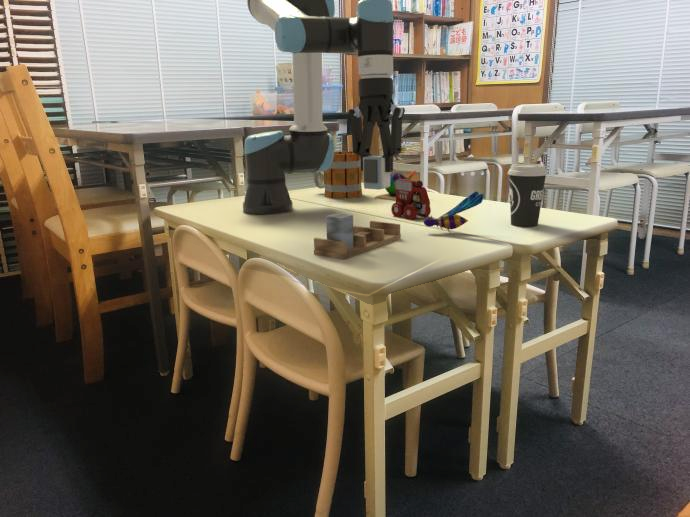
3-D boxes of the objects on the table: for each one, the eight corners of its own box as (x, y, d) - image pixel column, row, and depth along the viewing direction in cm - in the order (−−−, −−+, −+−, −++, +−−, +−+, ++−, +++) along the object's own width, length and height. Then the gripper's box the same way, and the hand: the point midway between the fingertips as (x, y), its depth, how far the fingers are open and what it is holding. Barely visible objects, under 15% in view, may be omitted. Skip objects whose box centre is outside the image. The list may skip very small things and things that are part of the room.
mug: (370, 195, 192) (369, 151, 188) (347, 200, 182) (346, 155, 178) (326, 191, 204) (324, 150, 200) (302, 196, 193) (300, 153, 189)
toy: (421, 231, 135) (422, 190, 132) (476, 228, 136) (477, 188, 133) (428, 237, 128) (429, 195, 125) (485, 235, 129) (487, 193, 126)
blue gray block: (388, 187, 124) (388, 156, 122) (377, 189, 121) (377, 157, 119) (374, 186, 126) (373, 155, 125) (362, 188, 123) (362, 157, 121)
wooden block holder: (313, 254, 116) (312, 216, 114) (372, 234, 133) (371, 201, 131) (344, 259, 111) (343, 220, 109) (400, 238, 128) (400, 204, 126)
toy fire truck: (418, 222, 146) (418, 183, 143) (387, 215, 156) (387, 178, 153) (436, 218, 150) (437, 180, 147) (405, 212, 160) (405, 176, 157)
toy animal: (387, 194, 194) (387, 167, 191) (422, 198, 184) (422, 169, 181) (366, 198, 186) (366, 170, 183) (402, 202, 176) (402, 173, 173)
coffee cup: (524, 230, 133) (528, 168, 129) (496, 223, 141) (499, 165, 137) (552, 226, 137) (557, 165, 133) (524, 219, 145) (527, 162, 141)
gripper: (333, 79, 120) (337, 186, 126) (400, 74, 110) (400, 190, 116) (353, 80, 126) (356, 182, 132) (419, 75, 116) (418, 186, 122)
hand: (376, 186), depth 124 cm, fingers closed on blue gray block, 4 cm apart
